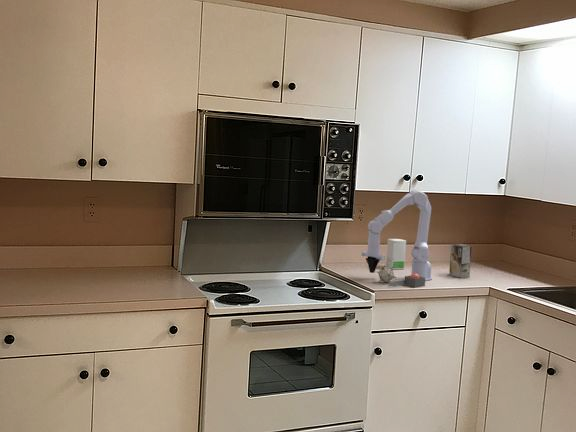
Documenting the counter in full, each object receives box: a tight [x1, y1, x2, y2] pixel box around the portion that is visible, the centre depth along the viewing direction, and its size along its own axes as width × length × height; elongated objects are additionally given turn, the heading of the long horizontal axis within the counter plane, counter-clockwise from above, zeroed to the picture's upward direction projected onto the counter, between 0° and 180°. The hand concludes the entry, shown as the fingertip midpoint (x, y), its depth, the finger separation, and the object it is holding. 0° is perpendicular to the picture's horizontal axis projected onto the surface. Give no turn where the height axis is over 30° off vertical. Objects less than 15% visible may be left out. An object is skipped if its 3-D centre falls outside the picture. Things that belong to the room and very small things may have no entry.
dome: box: [409, 273, 420, 279], centre depth 308 cm, size 5×5×5 cm
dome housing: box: [404, 275, 426, 288], centre depth 308 cm, size 7×7×4 cm
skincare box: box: [385, 238, 407, 270], centre depth 347 cm, size 8×7×16 cm
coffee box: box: [448, 243, 472, 279], centre depth 334 cm, size 9×6×16 cm
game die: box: [376, 265, 397, 284], centre depth 311 cm, size 9×8×10 cm
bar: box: [388, 279, 405, 287], centre depth 306 cm, size 9×1×2 cm, turn 126°
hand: (372, 272), depth 319 cm, fingers closed
